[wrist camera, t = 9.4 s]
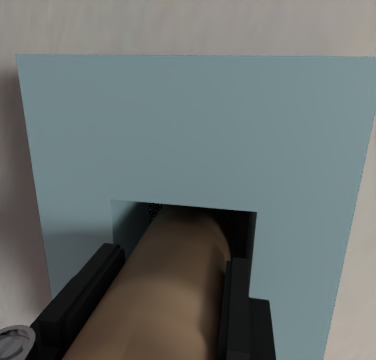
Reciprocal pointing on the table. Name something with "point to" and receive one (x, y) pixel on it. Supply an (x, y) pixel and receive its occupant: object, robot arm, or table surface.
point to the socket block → (206, 163)
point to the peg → (164, 292)
